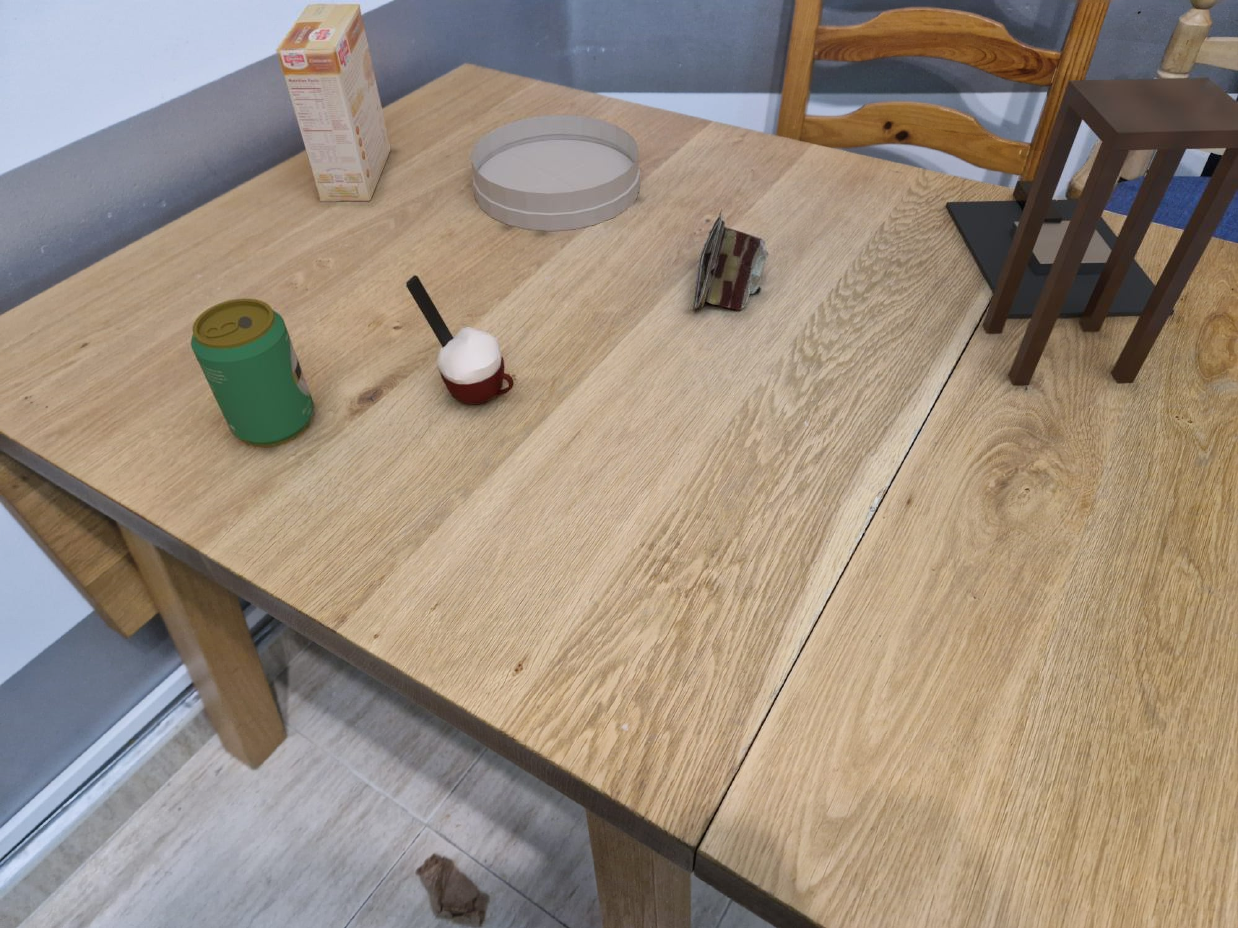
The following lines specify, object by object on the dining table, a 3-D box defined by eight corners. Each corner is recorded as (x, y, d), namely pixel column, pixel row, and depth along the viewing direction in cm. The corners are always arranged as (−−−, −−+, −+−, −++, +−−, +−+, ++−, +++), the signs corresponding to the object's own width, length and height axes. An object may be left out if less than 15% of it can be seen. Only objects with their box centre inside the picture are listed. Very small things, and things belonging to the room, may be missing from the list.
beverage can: (326, 431, 83) (290, 331, 74) (242, 461, 80) (194, 361, 72) (304, 384, 88) (268, 285, 79) (224, 411, 85) (177, 311, 76)
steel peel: (1056, 194, 111) (1062, 180, 109) (1114, 274, 98) (1121, 258, 97) (986, 195, 111) (991, 181, 109) (1035, 275, 98) (1041, 260, 97)
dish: (674, 187, 115) (675, 151, 111) (547, 251, 104) (544, 214, 101) (565, 134, 126) (563, 100, 123) (441, 187, 116) (435, 151, 112)
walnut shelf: (1093, 322, 93) (1208, 77, 74) (1133, 382, 86) (1270, 129, 67) (982, 324, 93) (1068, 80, 74) (1013, 385, 86) (1117, 132, 67)
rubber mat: (1086, 203, 110) (1087, 199, 110) (1172, 315, 94) (1174, 310, 93) (945, 206, 110) (946, 201, 110) (1006, 318, 94) (1008, 314, 93)
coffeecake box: (343, 149, 124) (306, 3, 110) (393, 149, 124) (362, 2, 110) (317, 202, 113) (272, 48, 99) (371, 202, 113) (334, 47, 99)
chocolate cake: (756, 328, 94) (789, 221, 93) (694, 308, 93) (728, 200, 93) (736, 334, 103) (766, 238, 103) (681, 317, 103) (711, 219, 102)
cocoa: (526, 400, 86) (514, 299, 77) (473, 428, 83) (455, 328, 74) (473, 355, 91) (456, 256, 82) (422, 380, 88) (398, 281, 79)
